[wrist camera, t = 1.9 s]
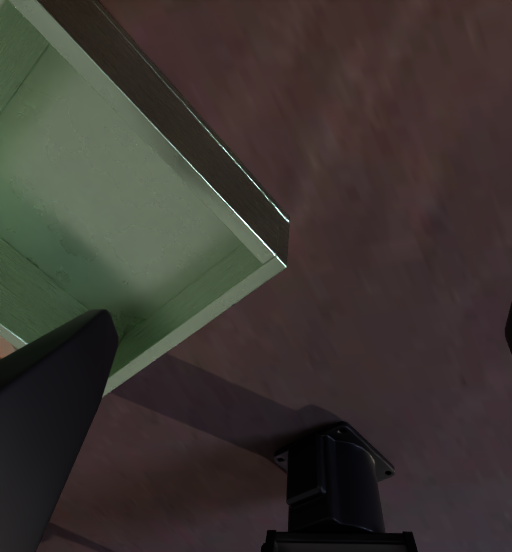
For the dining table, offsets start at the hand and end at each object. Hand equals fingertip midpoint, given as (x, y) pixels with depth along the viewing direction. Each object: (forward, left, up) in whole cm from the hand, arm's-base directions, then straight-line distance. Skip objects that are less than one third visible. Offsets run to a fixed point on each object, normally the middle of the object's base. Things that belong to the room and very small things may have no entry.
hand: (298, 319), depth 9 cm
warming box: (+5, +9, -12) cm, 16 cm away
